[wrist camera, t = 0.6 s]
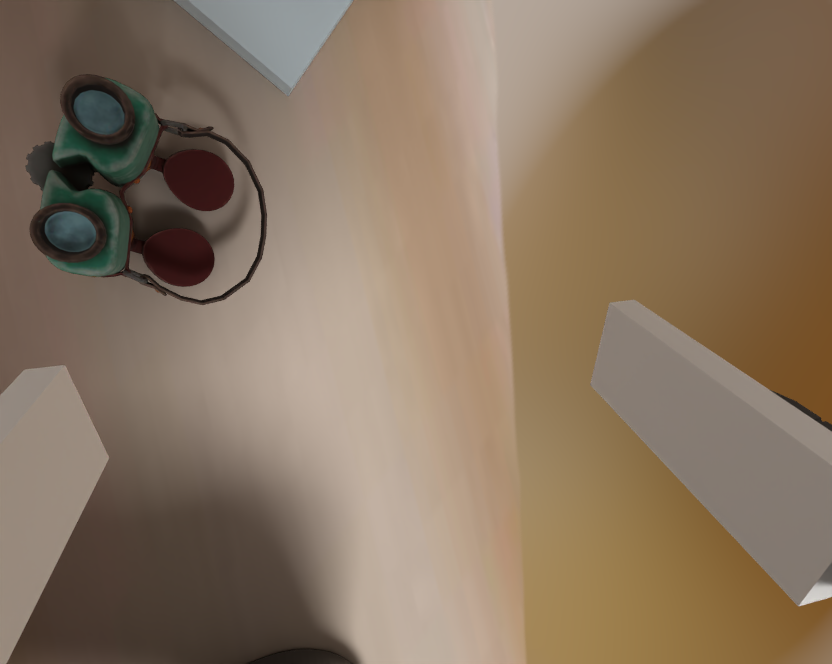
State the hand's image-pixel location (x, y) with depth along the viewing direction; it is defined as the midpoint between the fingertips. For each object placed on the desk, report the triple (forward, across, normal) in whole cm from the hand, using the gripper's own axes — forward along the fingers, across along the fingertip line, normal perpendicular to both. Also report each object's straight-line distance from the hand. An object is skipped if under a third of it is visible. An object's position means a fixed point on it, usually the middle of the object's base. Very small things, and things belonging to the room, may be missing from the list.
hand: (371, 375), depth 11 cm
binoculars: (+19, +9, 0) cm, 21 cm away
